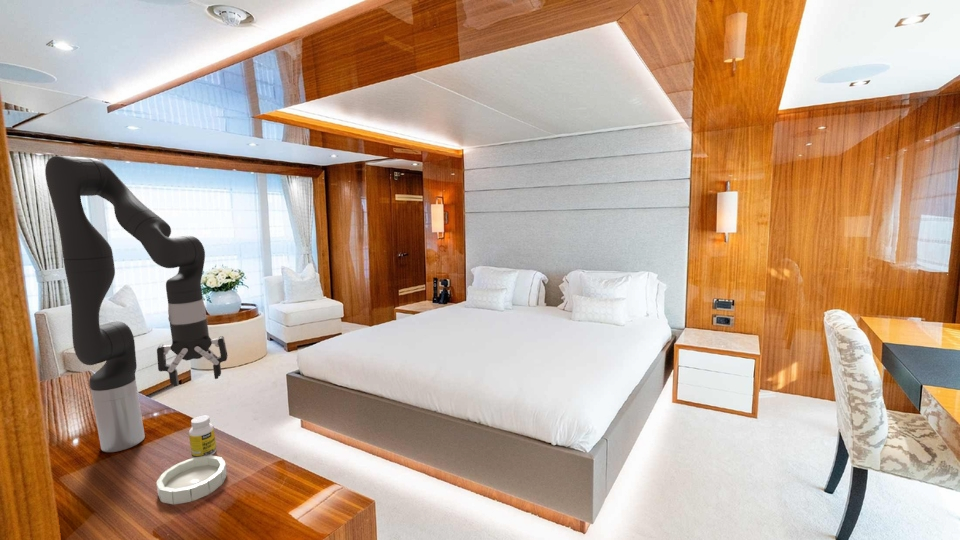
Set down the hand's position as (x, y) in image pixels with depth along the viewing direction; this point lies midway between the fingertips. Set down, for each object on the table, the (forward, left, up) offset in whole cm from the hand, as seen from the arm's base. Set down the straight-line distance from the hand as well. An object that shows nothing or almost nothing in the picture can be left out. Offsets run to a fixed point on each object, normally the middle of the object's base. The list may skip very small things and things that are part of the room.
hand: (196, 381), depth 109 cm
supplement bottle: (-1, 0, -20) cm, 20 cm away
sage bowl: (+11, -5, -20) cm, 24 cm away
